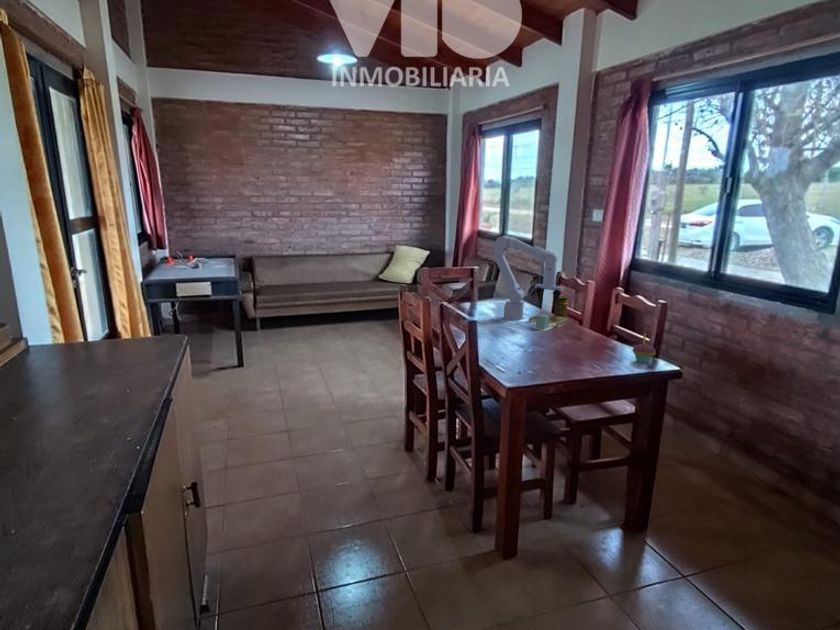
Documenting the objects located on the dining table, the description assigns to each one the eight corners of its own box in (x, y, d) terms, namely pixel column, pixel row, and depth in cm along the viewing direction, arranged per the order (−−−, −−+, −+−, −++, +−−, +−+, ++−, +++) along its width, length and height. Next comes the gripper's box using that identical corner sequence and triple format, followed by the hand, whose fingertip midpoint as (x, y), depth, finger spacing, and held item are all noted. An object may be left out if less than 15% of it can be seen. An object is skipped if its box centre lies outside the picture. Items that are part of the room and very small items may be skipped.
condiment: (569, 319, 270) (571, 297, 267) (560, 322, 264) (562, 299, 261) (557, 317, 275) (558, 295, 272) (548, 319, 269) (550, 297, 266)
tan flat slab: (529, 323, 262) (529, 317, 261) (540, 318, 271) (540, 313, 270) (558, 328, 252) (558, 323, 251) (568, 324, 261) (569, 318, 260)
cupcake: (628, 357, 210) (631, 329, 207) (649, 358, 210) (653, 330, 207) (636, 365, 202) (639, 335, 199) (658, 365, 202) (662, 336, 199)
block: (535, 327, 252) (536, 315, 250) (540, 325, 255) (541, 313, 253) (544, 329, 249) (545, 317, 247) (548, 327, 252) (549, 315, 251)
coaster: (530, 328, 251) (530, 327, 251) (538, 325, 257) (538, 324, 257) (545, 331, 246) (545, 330, 246) (553, 328, 252) (553, 327, 252)
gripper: (566, 277, 256) (564, 304, 259) (540, 274, 265) (538, 300, 268) (560, 279, 251) (558, 306, 254) (533, 276, 260) (531, 302, 263)
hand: (547, 303), depth 261 cm, fingers open, 7 cm apart
